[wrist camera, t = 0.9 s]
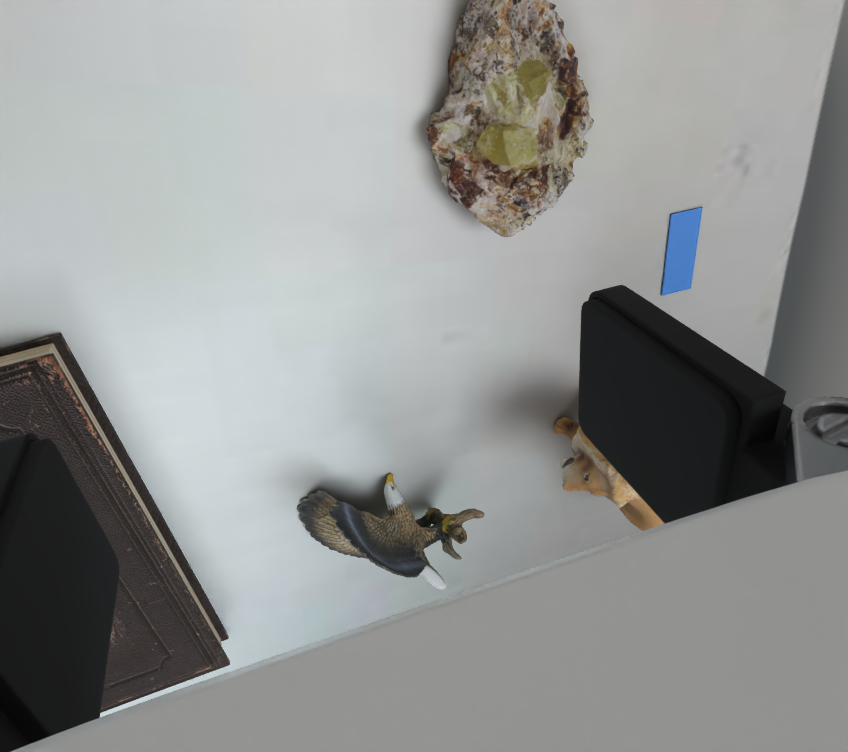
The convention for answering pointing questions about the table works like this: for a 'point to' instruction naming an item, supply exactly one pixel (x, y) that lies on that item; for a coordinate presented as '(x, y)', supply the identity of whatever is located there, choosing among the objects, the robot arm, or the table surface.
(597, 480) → the lion figurine
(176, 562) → the hardcover book
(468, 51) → the mineral rock
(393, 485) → the eagle figurine
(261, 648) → the table surface
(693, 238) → the tape marks
